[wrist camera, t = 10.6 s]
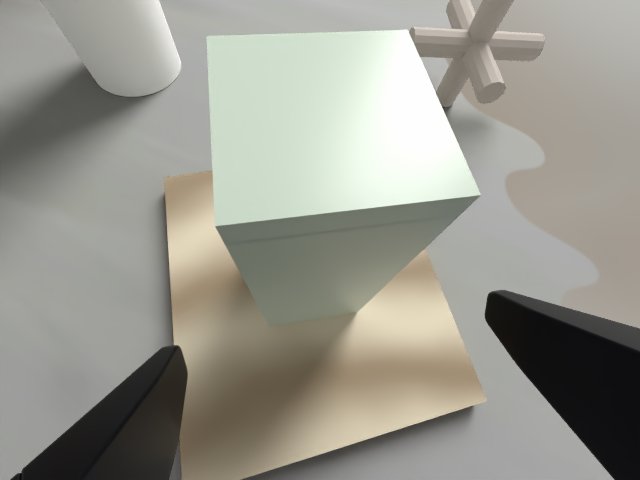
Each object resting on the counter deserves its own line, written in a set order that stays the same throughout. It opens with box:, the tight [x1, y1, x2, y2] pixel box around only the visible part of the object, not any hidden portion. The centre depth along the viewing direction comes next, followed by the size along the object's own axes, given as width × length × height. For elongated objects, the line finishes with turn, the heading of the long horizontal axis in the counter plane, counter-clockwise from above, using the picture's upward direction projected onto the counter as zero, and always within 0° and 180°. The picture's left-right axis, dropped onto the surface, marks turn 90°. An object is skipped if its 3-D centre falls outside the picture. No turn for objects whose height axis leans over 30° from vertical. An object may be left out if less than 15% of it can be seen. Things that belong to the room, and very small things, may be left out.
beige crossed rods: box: [409, 0, 545, 107], centre depth 23 cm, size 10×10×10 cm
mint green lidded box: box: [207, 30, 481, 327], centre depth 13 cm, size 5×5×13 cm
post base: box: [164, 171, 487, 480], centre depth 18 cm, size 18×16×5 cm
